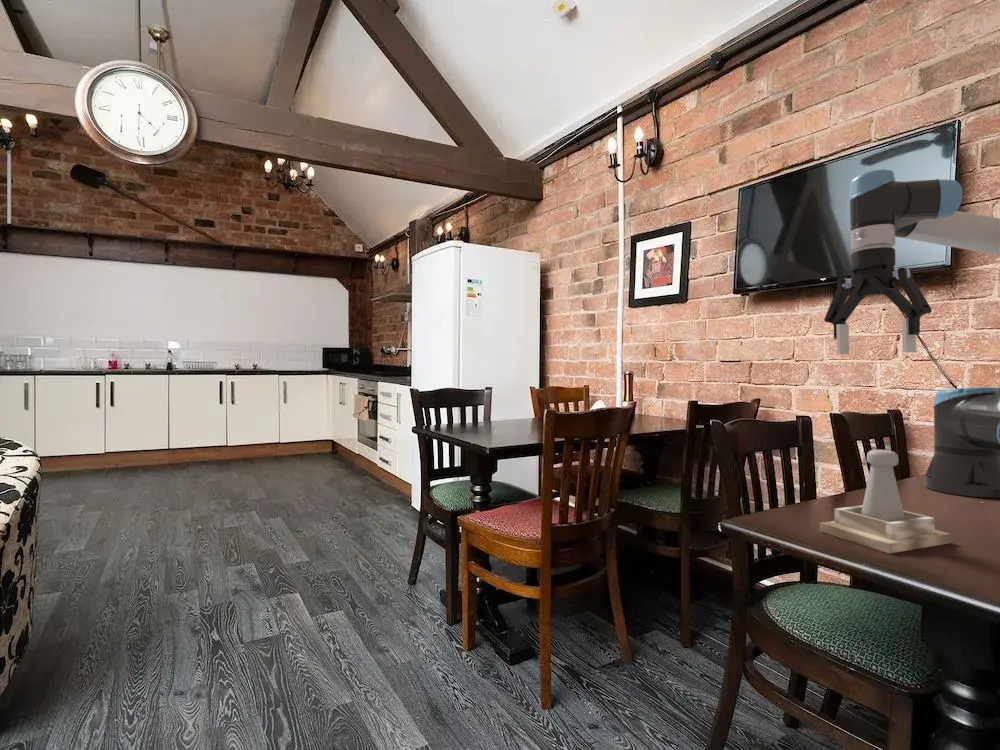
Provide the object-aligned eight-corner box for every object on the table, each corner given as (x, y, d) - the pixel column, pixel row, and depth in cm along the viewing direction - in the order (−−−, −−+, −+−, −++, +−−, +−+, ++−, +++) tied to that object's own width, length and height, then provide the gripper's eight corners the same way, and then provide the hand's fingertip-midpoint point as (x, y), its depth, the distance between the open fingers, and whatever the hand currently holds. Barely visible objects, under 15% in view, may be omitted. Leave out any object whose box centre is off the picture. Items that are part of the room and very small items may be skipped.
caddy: (877, 523, 99) (877, 501, 99) (950, 543, 88) (951, 518, 88) (819, 531, 94) (819, 508, 94) (888, 553, 83) (888, 527, 83)
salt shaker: (913, 532, 88) (913, 452, 88) (880, 533, 88) (880, 453, 88) (884, 522, 94) (884, 447, 94) (853, 523, 94) (853, 448, 94)
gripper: (805, 260, 122) (807, 355, 122) (926, 234, 98) (928, 351, 99) (829, 262, 124) (831, 354, 125) (953, 236, 101) (954, 350, 101)
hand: (874, 353), depth 112 cm, fingers open, 13 cm apart
